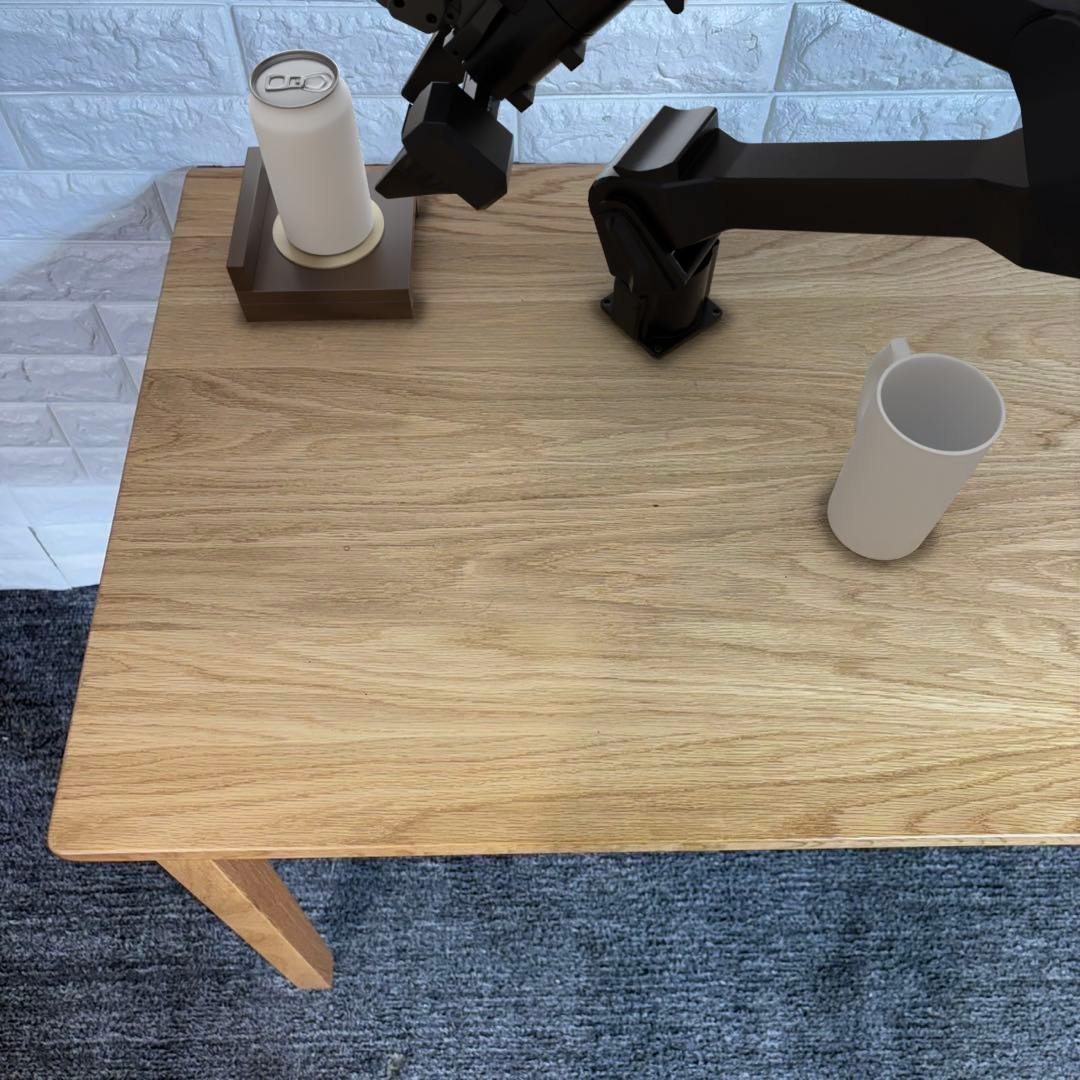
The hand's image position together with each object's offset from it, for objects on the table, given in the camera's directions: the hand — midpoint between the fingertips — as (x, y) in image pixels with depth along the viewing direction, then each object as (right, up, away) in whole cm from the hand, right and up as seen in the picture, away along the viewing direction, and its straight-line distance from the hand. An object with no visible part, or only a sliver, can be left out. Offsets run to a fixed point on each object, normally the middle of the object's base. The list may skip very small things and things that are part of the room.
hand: (393, 143), depth 65 cm
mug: (+30, -23, 0) cm, 38 cm away
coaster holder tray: (-6, -5, +10) cm, 12 cm away
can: (-6, -3, +7) cm, 10 cm away
